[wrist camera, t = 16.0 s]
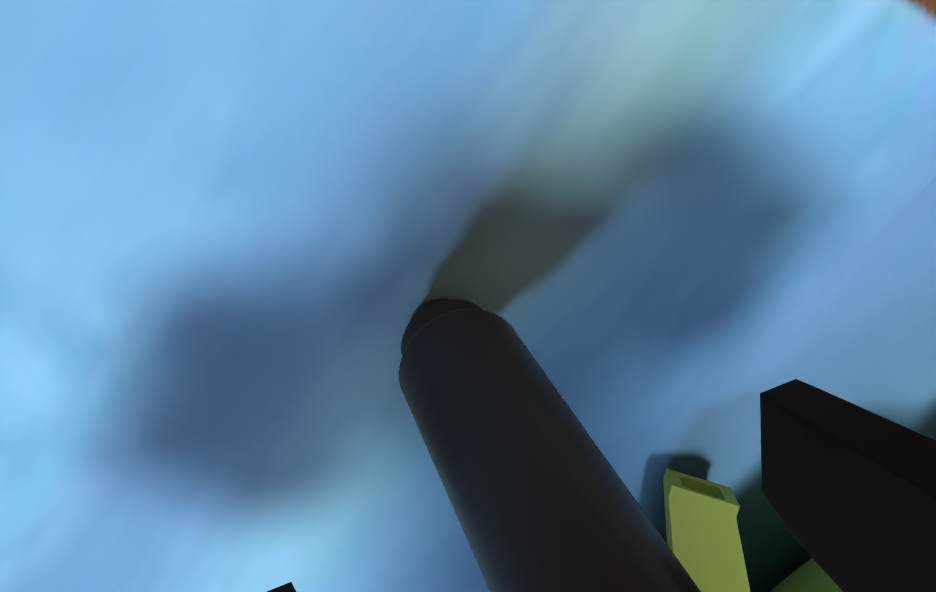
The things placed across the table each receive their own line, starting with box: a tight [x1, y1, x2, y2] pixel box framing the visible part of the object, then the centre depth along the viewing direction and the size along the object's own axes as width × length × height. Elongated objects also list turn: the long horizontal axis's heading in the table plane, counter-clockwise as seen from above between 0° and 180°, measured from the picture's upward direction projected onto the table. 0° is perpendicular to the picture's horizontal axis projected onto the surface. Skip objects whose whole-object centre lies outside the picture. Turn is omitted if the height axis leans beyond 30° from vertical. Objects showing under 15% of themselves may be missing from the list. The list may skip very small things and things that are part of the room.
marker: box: [399, 298, 701, 592], centre depth 13 cm, size 2×2×9 cm
